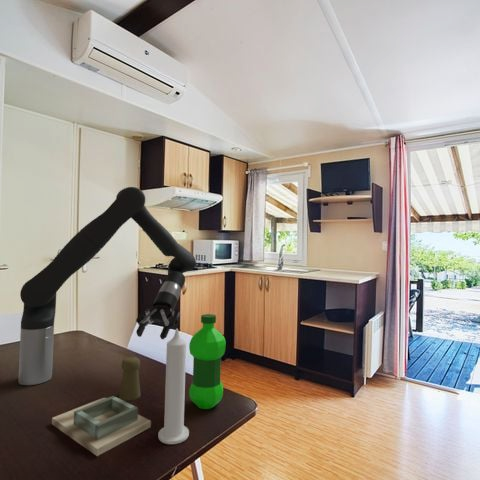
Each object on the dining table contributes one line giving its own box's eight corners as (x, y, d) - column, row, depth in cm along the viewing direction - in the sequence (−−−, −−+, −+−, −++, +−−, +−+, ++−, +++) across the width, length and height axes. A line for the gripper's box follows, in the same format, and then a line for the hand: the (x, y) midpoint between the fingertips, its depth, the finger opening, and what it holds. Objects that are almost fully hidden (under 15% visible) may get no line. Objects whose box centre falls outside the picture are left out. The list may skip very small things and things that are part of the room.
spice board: (51, 424, 79) (52, 405, 79) (104, 402, 91) (104, 386, 91) (97, 456, 68) (97, 434, 68) (150, 427, 79) (151, 408, 79)
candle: (160, 427, 79) (164, 324, 80) (189, 426, 80) (192, 325, 80) (155, 445, 72) (159, 332, 73) (187, 444, 73) (191, 332, 73)
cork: (133, 401, 92) (135, 362, 92) (114, 399, 93) (116, 360, 93) (144, 392, 98) (145, 356, 98) (126, 390, 99) (127, 354, 99)
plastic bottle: (217, 416, 85) (219, 321, 85) (180, 409, 88) (183, 317, 88) (229, 399, 94) (231, 314, 95) (196, 394, 97) (198, 311, 98)
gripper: (146, 289, 116) (126, 328, 105) (183, 291, 113) (166, 332, 101) (154, 301, 121) (135, 340, 110) (188, 304, 117) (173, 345, 106)
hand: (150, 336), depth 106 cm, fingers open, 8 cm apart
